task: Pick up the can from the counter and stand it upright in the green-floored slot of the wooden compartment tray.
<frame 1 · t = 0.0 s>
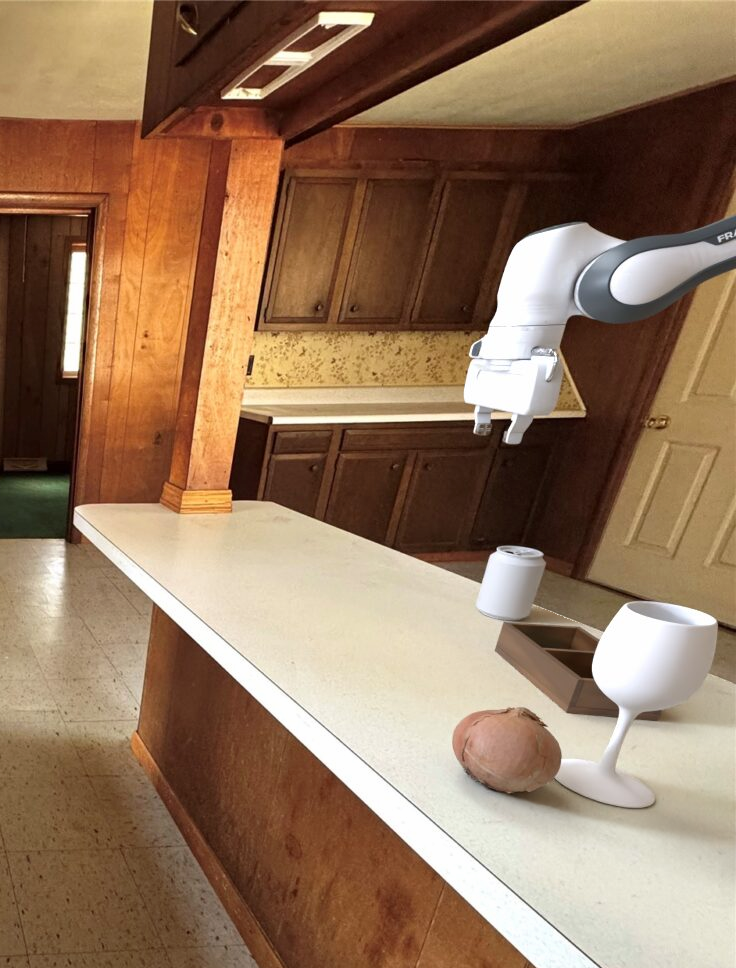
hand: (495, 438, 105), 31 cm above the countertop, tool pointing down, fingers open, 8 cm apart
can: (500, 615, 118), on the countertop
wooden compartment tray: (567, 682, 95), on the countertop
wineglass: (598, 784, 75), on the countertop
onion: (493, 782, 76), on the countertop
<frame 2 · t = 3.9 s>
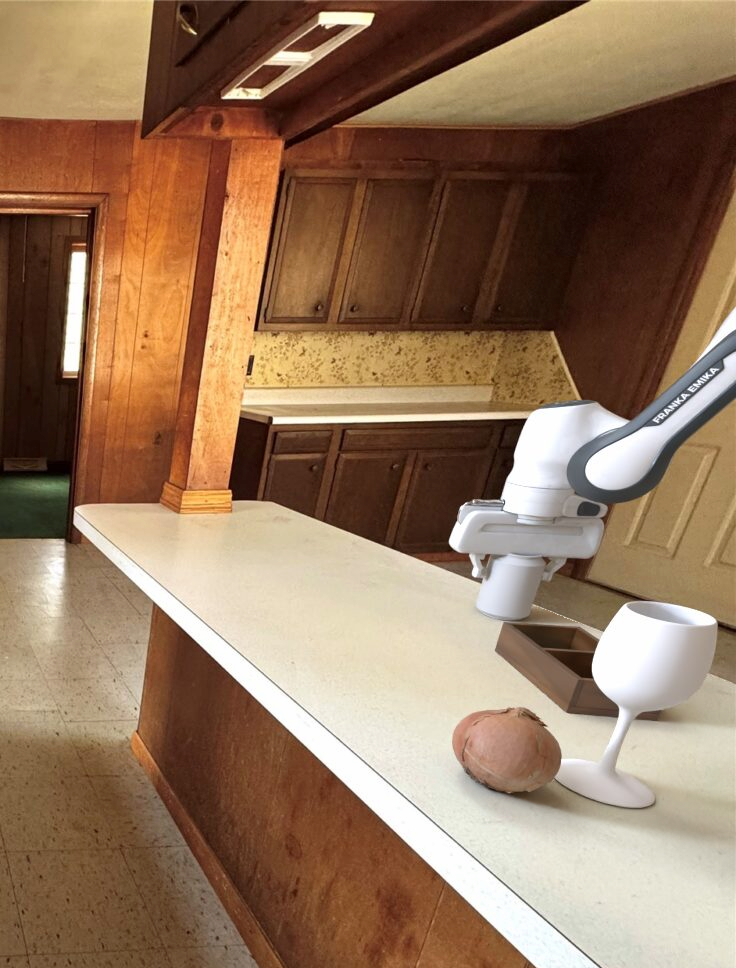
hand: (509, 578, 115), 7 cm above the countertop, tool pointing down, fingers open, 8 cm apart
can: (500, 615, 118), on the countertop, touching gripper
everything else where it was.
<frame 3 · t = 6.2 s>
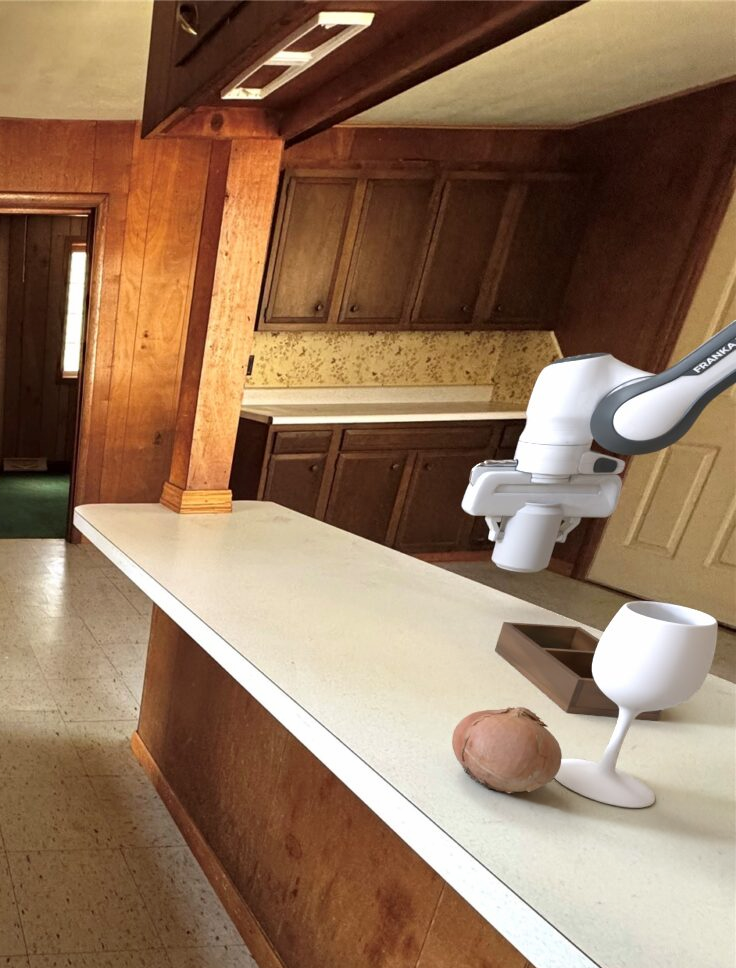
hand: (525, 540, 113), 14 cm above the countertop, tool pointing down, fingers closed on can, 7 cm apart
can: (517, 568, 114), point 9 cm above the countertop, touching gripper
everything else where it was.
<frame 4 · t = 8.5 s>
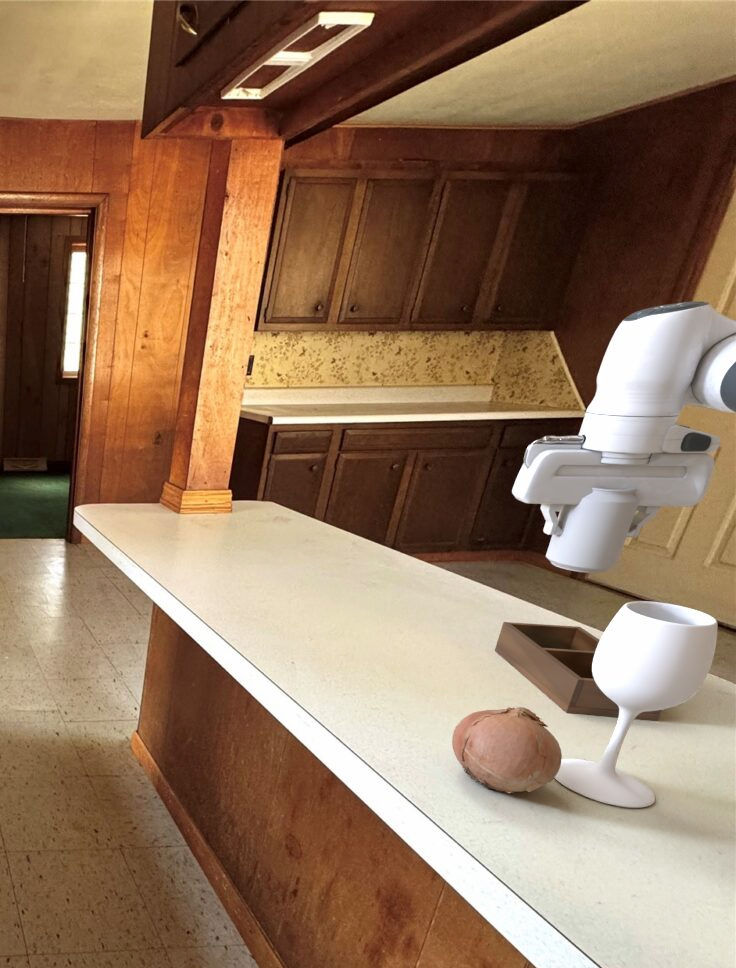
hand: (589, 535, 93), 20 cm above the countertop, tool pointing down, fingers closed on can, 7 cm apart
can: (577, 567, 95), point 15 cm above the countertop, touching gripper
everything else where it was.
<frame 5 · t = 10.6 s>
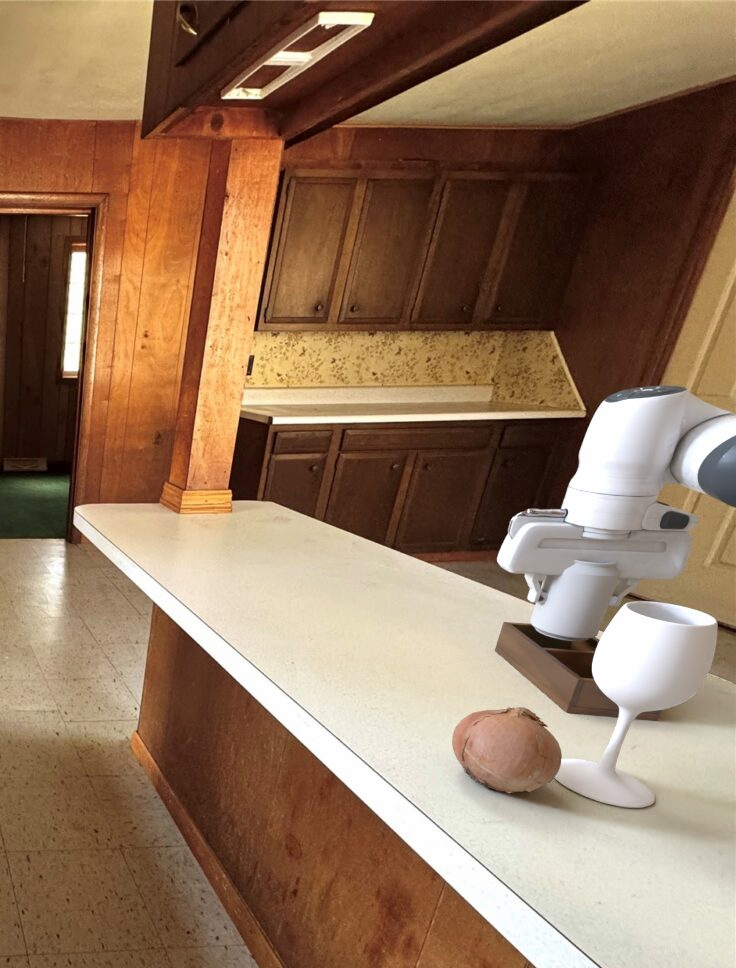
hand: (572, 603, 95), 10 cm above the countertop, tool pointing down, fingers closed on can, 7 cm apart
can: (560, 634, 97), point 6 cm above the countertop, touching gripper
everything else where it was.
when the fingers open (6 cm above the countertop, at t = 12.4 s): can stays where it is, resting on wooden compartment tray.
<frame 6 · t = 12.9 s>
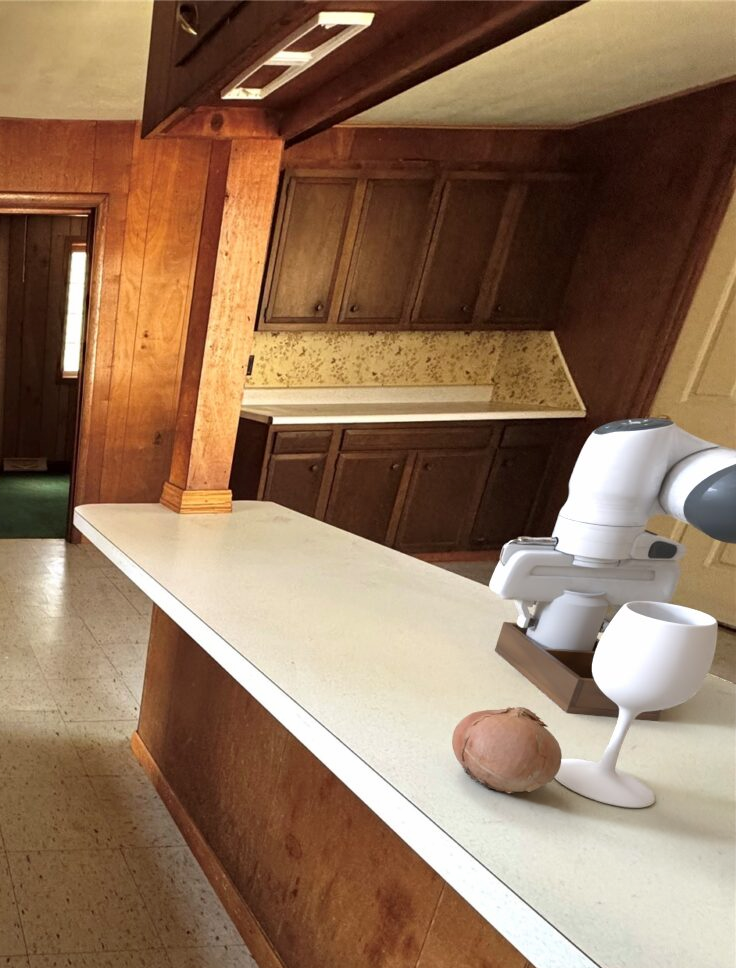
hand: (563, 629, 97), 6 cm above the countertop, tool pointing down, fingers open, 8 cm apart
can: (551, 661, 99), point 1 cm above the countertop, touching wooden compartment tray
everything else where it was.
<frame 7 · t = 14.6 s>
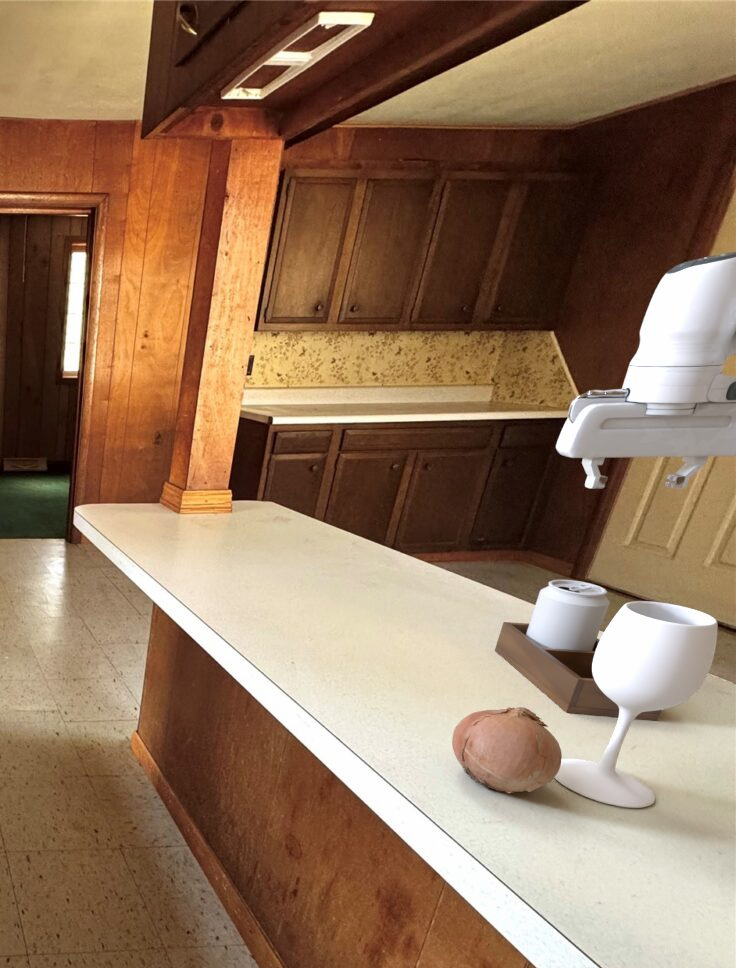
hand: (633, 487, 95), 26 cm above the countertop, tool pointing down, fingers open, 8 cm apart
nothing on the countertop moved.
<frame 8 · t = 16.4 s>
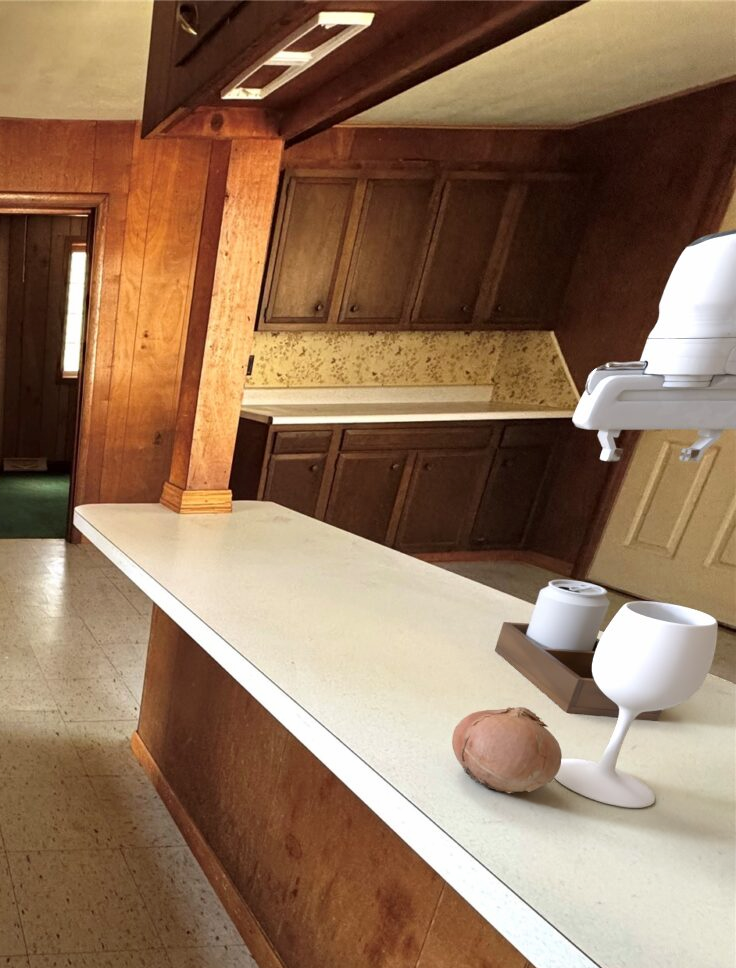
hand: (648, 460, 96), 29 cm above the countertop, tool pointing down, fingers open, 8 cm apart
nothing on the countertop moved.
at the end: can 0.0 cm from the target spot in the wooden compartment tray, point 1.0 cm above the wooden compartment tray's base; can tilted 0°; the gripper is holding nothing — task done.
